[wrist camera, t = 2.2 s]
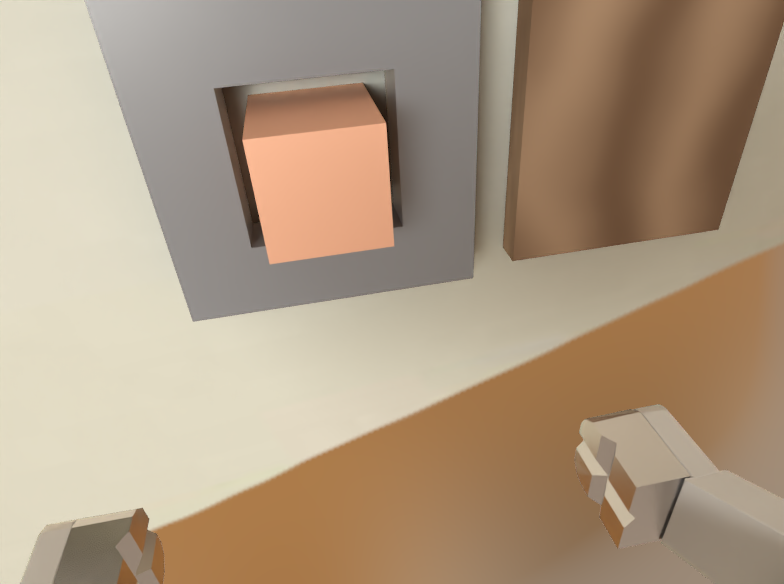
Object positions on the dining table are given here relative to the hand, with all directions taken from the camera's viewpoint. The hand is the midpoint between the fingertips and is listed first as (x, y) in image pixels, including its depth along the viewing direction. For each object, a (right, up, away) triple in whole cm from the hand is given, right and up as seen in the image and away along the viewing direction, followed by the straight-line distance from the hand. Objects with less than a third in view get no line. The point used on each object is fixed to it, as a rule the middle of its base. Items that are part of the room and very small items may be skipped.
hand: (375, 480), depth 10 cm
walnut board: (+12, +14, +16) cm, 24 cm away
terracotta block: (-3, +10, +15) cm, 19 cm away
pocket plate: (-3, +10, +15) cm, 19 cm away
